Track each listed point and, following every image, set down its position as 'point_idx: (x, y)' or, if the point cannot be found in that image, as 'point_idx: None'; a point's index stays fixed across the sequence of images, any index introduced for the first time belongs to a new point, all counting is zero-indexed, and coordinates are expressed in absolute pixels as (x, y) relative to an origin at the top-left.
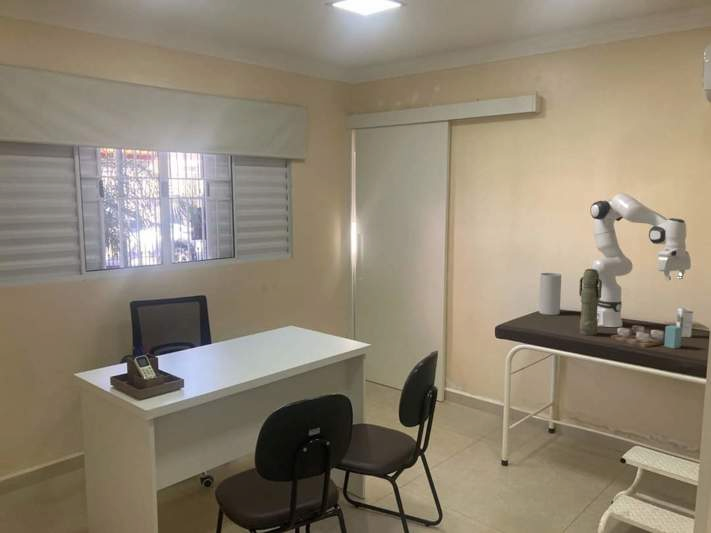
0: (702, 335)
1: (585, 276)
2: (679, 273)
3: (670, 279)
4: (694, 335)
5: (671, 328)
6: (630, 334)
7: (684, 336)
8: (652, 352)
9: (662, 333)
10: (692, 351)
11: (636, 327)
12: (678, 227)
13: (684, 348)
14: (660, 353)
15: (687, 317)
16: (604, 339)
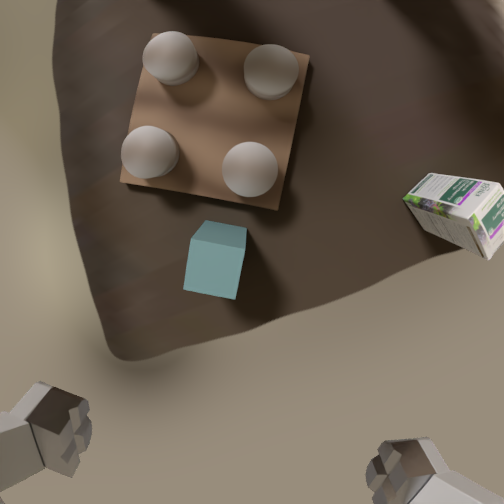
0: None
1: None
2: (459, 493)
3: (82, 444)
4: None
5: (186, 269)
6: (238, 61)
7: (412, 212)
8: (86, 236)
9: (245, 196)
10: (212, 317)
11: (248, 70)
12: None
13: None
14: (97, 259)
15: (459, 234)
16: (124, 35)
